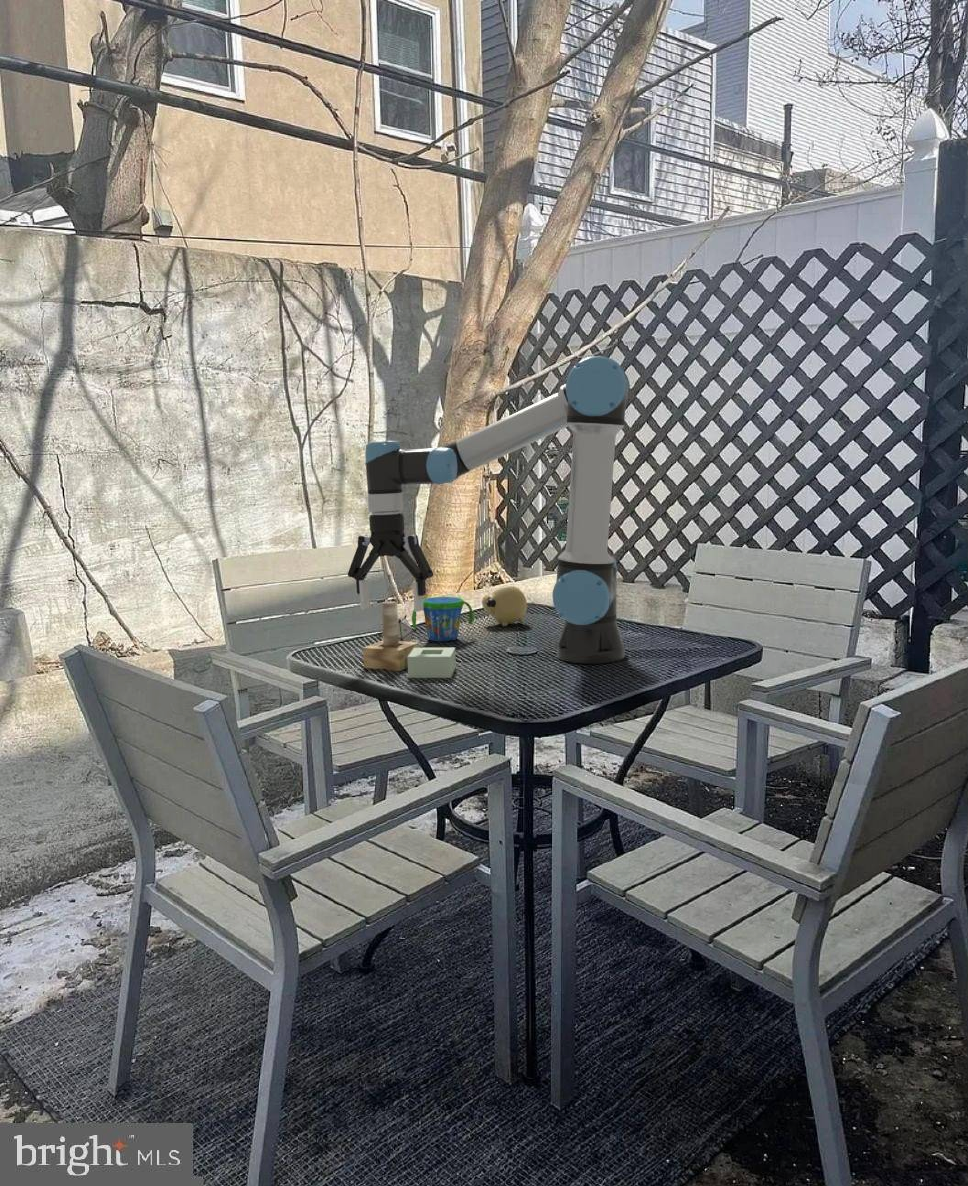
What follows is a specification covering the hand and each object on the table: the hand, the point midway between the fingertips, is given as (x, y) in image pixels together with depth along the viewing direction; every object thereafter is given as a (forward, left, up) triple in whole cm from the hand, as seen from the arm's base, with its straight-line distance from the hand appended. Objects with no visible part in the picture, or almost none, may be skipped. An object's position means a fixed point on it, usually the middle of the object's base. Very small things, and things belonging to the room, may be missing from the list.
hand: (391, 609), depth 203 cm
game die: (+7, -15, -13) cm, 21 cm away
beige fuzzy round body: (-5, -52, -13) cm, 54 cm away
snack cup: (+2, -29, -13) cm, 32 cm away
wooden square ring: (0, 0, -12) cm, 12 cm away
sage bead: (-12, +4, -12) cm, 17 cm away
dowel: (0, 0, -12) cm, 12 cm away
